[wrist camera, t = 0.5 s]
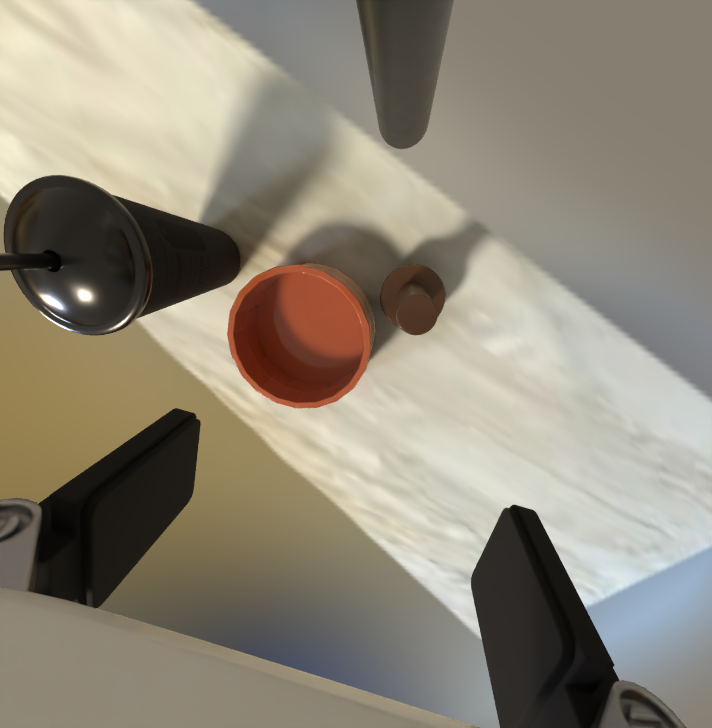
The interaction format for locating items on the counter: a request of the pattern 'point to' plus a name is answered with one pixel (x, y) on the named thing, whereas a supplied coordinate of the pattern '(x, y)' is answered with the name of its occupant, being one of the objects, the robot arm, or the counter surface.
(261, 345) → the bowl
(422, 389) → the counter surface
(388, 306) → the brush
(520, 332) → the counter surface
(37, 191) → the drinking cup
